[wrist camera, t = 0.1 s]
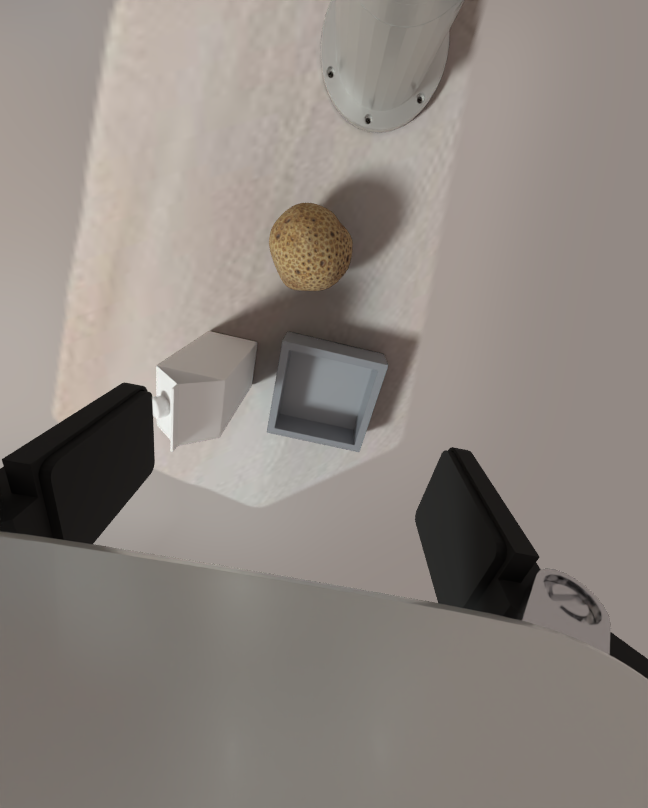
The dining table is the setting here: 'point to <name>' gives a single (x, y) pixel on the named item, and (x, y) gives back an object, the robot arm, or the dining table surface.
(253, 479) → the dining table surface
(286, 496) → the dining table surface
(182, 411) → the milk carton
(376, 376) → the box
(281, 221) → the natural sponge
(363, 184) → the dining table surface
